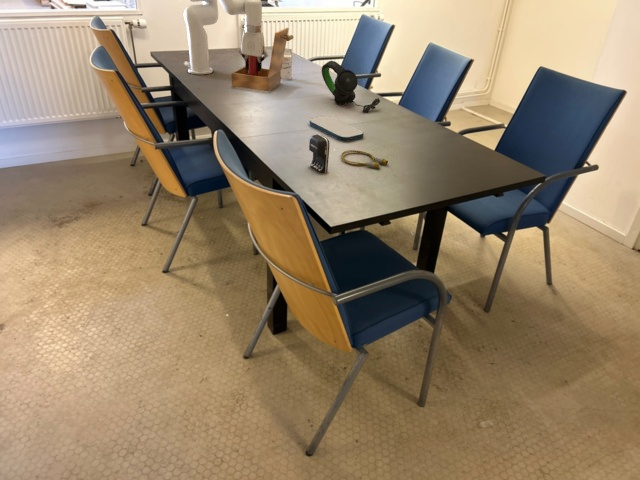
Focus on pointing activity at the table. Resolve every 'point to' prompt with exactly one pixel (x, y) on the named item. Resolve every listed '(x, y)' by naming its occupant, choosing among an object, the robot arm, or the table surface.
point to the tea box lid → (278, 51)
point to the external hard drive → (336, 128)
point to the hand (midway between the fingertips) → (253, 69)
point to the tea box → (255, 79)
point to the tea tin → (252, 65)
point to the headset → (343, 85)
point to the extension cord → (370, 164)
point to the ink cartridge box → (287, 64)
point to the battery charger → (319, 153)
